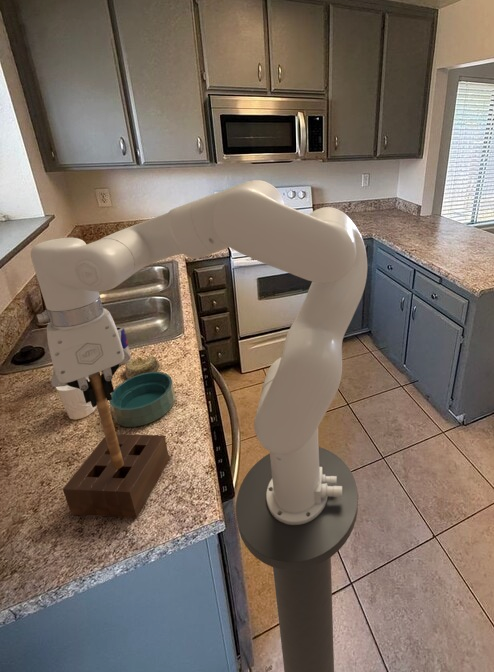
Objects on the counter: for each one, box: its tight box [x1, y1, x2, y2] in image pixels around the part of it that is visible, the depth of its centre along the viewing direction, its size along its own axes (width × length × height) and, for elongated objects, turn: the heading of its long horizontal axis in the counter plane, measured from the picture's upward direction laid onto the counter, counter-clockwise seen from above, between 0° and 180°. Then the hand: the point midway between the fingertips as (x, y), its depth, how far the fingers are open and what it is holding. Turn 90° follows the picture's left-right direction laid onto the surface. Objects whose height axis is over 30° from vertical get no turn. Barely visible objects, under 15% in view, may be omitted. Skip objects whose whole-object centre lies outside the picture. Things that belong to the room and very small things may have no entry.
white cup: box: [55, 376, 97, 421], centre depth 97 cm, size 8×8×10 cm
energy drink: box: [116, 325, 132, 366], centre depth 119 cm, size 5×5×12 cm
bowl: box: [109, 371, 176, 428], centre depth 98 cm, size 15×15×6 cm
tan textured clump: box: [124, 354, 160, 380], centre depth 114 cm, size 10×10×5 cm
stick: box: [88, 371, 124, 469], centre depth 68 cm, size 2×2×22 cm
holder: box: [62, 433, 170, 519], centre depth 76 cm, size 14×14×7 cm
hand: (100, 399), depth 66 cm, fingers closed on stick, 1 cm apart
